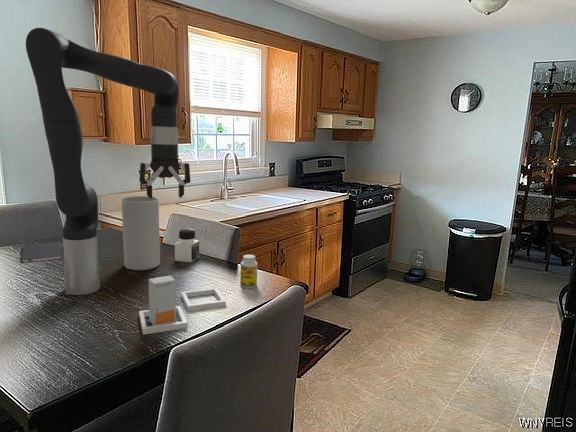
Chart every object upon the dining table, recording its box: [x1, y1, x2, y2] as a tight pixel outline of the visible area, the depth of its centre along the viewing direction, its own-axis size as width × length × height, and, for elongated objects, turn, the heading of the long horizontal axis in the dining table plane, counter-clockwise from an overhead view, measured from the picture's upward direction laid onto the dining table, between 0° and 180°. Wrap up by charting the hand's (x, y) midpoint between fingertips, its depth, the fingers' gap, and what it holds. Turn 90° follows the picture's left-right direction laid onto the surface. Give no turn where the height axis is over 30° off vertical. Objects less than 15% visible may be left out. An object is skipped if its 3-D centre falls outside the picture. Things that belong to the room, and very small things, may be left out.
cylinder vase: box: [121, 195, 161, 271], centre depth 151 cm, size 12×12×25 cm
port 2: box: [180, 287, 227, 312], centre depth 125 cm, size 11×13×2 cm
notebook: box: [21, 241, 63, 263], centre depth 163 cm, size 13×2×21 cm
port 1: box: [138, 305, 188, 336], centre depth 111 cm, size 11×13×2 cm
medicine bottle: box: [174, 228, 200, 263], centre depth 162 cm, size 7×7×12 cm
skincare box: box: [148, 275, 177, 326], centre depth 109 cm, size 6×4×12 cm
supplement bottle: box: [239, 254, 258, 289], centre depth 138 cm, size 6×6×10 cm
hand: (165, 197), depth 124 cm, fingers open, 8 cm apart
